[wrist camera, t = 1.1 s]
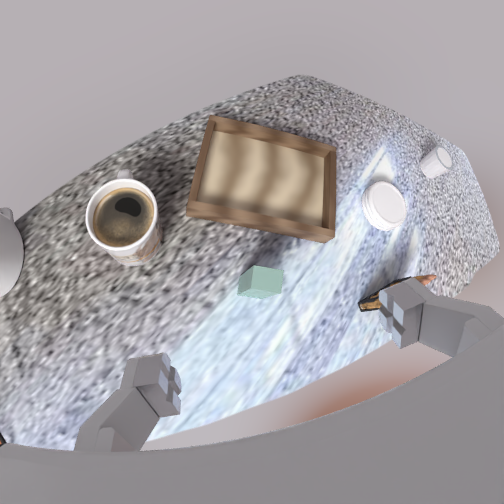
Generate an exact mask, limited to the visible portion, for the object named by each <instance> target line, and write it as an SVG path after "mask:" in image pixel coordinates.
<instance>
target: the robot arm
mask: <svg viewBox="0 0 504 504" xmlns="http://www.w3.org/2000/svg"><path fill="white" fill-rule="evenodd" d="M23 255H24V250H23V242H22V238H21V235H20V233H19V231H18V229H17V227H16V226H15V224H14V220H13V214H12V211H11V210H10V209H8V208H0V297H2V296H3V295H5V294H6V293H8V292H9V291H10V290H11V289H12V287H13V286H14V285H15V283H16V281H17V279H18V277H19V275H20V272H21V268H22V264H23ZM379 301H380V302H381V303H382V305H381V306H380V308H379V318H380V322H381V324H382V326H383V328H384V329H385V330H386V332H389V333H392V339H393V341H394V342H395V343H396V344H397V346H398V347H399V348H400V349H401V348H403V347H406V346H408V345H410V344H413V343H415V342H417V341H419V342H420V343H422V344H424V345H427V346H429V347H431V348H433V349H435V350H438V351H440V352H442V353H445V354H447V355H449V356H451V357H453V358H451V359H449V360H448V361H446V362H444V363H442V364H440V365H439V366H437V367H435V368H433V369H431V370H429V371H428V372H426V373H424V374H422V375H420V376H418V377H416V378H414V379H412V380H410V381H408V382H406V383H404V384H402V385H400V386H398V387H395V388H393V389H391V390H389V391H386V392H384V393H382V394H380V395H377V396H375V397H373V398H370V399H368V400H365V401H363V402H360V403H358V404H355V405H353V406H350V407H347V408H345V409H342V410H339V411H336V412H334V413H331V414H328V415H325V416H322V417H319V418H316V419H313V420H310V421H306V422H303V423H300V424H296V425H293V426H289V427H286V428H282V429H278V430H274V431H270V432H266V433H262V434H258V435H253V436H249V437H244V438H239V439H234V440H229V441H224V442H219V443H212V444H205V445H199V446H191V447H183V448H174V449H164V450H151V451H140V449H141V448H142V446H143V444H144V443H145V441H146V440H147V438H148V437H149V435H150V433H151V432H152V430H153V429H154V427H155V426H156V424H157V422H158V421H159V419H160V417H166V416H172V415H178V414H180V407H181V400H180V399H179V397H178V395H179V394H180V392H181V381H180V377H179V374H178V372H177V370H176V369H175V368H174V367H172V366H170V361H171V360H170V358H169V357H168V355H167V354H166V353H159V354H154V355H148V356H142V357H137V358H132V359H129V360H128V361H127V364H126V367H125V371H124V375H123V379H122V382H121V386H120V389H118V390H116V391H115V392H114V393H113V394H112V395H111V396H110V397H109V398H108V399H107V400H106V401H105V402H104V403H103V404H102V405H101V406H100V407H99V408H98V409H97V410H96V411H95V412H94V413H93V414H92V415H91V417H90V418H89V419H88V420H87V421H86V422H85V423H84V424H83V425H82V426H81V427H80V429H79V433H78V436H77V440H76V444H75V448H74V451H68V450H56V449H46V448H37V447H30V446H24V445H18V444H13V443H6V444H4V445H2V446H1V447H0V504H504V318H503V317H502V316H500V315H499V314H498V313H497V312H496V311H494V310H493V309H492V308H491V307H489V306H485V305H481V304H476V303H471V302H467V301H463V300H458V299H454V298H449V297H445V296H441V295H440V296H436V295H435V294H433V293H432V292H431V291H430V290H429V289H428V288H426V287H425V286H424V285H423V284H422V283H420V282H419V281H418V280H417V279H415V278H410V279H407V280H405V281H403V282H401V283H398V284H396V285H393V286H391V287H388V288H386V289H383V290H380V292H379Z"/></svg>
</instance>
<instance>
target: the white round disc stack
mask: <svg viewBox="0 0 504 504" xmlns="http://www.w3.org/2000/svg"><path fill="white" fill-rule="evenodd" d="M362 209H363V212H364V215H365V217H366V218H367V220H368V221H369V222H370V223H371V224H372V225H373V226H374V227H375V228H377V229H379V230H382V231H390V230H392V229H394V228H396V227H398V226H400V225H401V224H402V223H403V222H404V220H405V218H406V212H407V210H406V204H405V200H404V198H403V196H402V194H401V193H400V191H399V190H398V189H397V188H396V187H395V186H394V185H392V184H391V183H389V182H386V181H378V182H375V183H374V184H372V185H371V186H370V187H368V188H367V189H366V190H365V192H364V193H363V196H362Z"/></svg>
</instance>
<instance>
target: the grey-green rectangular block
mask: <svg viewBox="0 0 504 504" xmlns="http://www.w3.org/2000/svg"><path fill="white" fill-rule="evenodd" d="M283 271H284V270H279V269H273V268H267V267H262V266H256V265H253V266H252V267H251V268H250V269H248V270H247V271H246V272H245V273H244V274H242V275H241V276H240V279H239V286H238V293H237V295H240V296H247V297H253V298H260V299H263V298H266V297H269V296H273V295H276V294H280V293H281V289H282V280H283Z"/></svg>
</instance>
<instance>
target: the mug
mask: <svg viewBox="0 0 504 504" xmlns="http://www.w3.org/2000/svg"><path fill="white" fill-rule="evenodd" d="M86 226H87V229H88V232H89V234H90V236H91V237H92V239H93V240H94V241H95V242H96V243H97V244H98V245H99V246H100V247H101V248H102V249H104V250H105V251H106V252H107V253H108V254H109V255H110V256H111V257H112V258H113V259H115V260H116V261H117V262H119V263H121V264H123V265H127V266H138V265H142V264H144V263H146V262H148V261H149V260H151V259H152V258H153V257H154V256H155V255H156V254H157V252H158V251H159V249H160V247H161V244H162V240H163V230H162V225H161V220H160V216H159V211H158V207H157V202H156V199H155V197H154V195H153V193H152V192H151V190H150V189H149V188H148V187H147V186H146V185H144V184H143V183H141V182H139V181H137V180H134V179H133V175H132V172H131V171H130V170H129V169H124V170H120V171H119V172H118V174H117V179H116V180H113V181H110V182H108V183H106V184H104V185H103V186H102V187H100V188H99V189H98V190H97V191H96V192H95V193H94V195H93V196H92V198H91V199H90V201H89V204H88V206H87V210H86Z"/></svg>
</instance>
